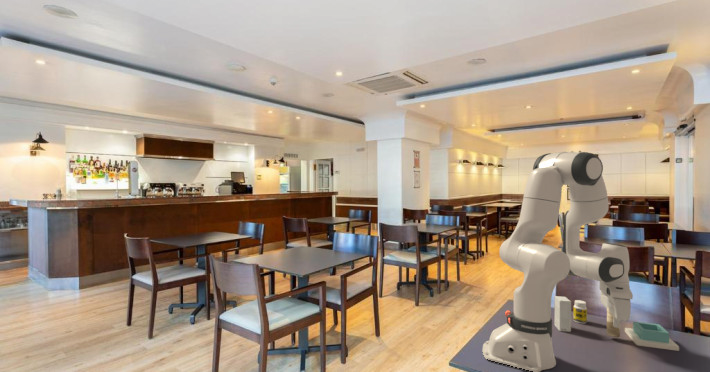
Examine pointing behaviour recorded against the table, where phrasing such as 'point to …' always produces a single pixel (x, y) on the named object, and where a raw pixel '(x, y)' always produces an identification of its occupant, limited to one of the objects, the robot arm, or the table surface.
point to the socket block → (651, 336)
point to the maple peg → (610, 328)
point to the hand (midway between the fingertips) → (613, 323)
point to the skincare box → (563, 313)
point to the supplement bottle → (580, 312)
